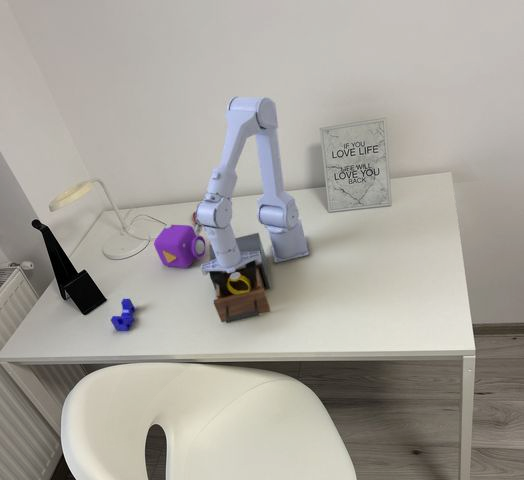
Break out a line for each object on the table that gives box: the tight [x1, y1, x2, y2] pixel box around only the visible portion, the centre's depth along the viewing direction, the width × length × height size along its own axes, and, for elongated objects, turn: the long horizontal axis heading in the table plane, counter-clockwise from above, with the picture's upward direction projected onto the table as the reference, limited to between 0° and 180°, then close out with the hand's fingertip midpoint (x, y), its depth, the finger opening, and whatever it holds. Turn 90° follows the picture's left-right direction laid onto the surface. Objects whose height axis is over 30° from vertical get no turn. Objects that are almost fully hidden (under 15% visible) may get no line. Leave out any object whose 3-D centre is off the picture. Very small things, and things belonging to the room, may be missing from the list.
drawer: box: [213, 267, 271, 324], centre depth 135 cm, size 17×12×7 cm
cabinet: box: [209, 232, 271, 294], centre depth 145 cm, size 14×14×9 cm
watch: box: [227, 272, 251, 295], centre depth 135 cm, size 6×3×6 cm, turn 76°
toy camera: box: [153, 223, 207, 268], centre depth 157 cm, size 11×14×10 cm
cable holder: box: [110, 298, 136, 332], centre depth 145 cm, size 8×4×4 cm, turn 164°
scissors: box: [192, 211, 201, 234], centre depth 171 cm, size 5×14×1 cm, turn 172°
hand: (240, 288), depth 136 cm, fingers closed on watch, 6 cm apart
